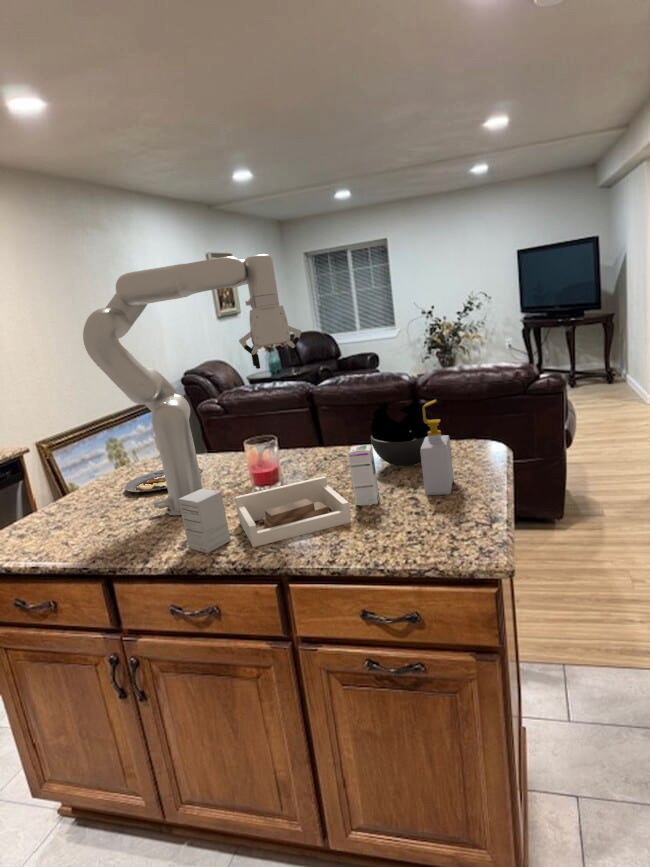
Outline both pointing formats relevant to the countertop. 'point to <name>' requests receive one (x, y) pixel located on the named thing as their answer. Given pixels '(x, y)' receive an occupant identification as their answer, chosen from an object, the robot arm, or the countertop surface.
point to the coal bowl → (399, 435)
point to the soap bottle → (436, 459)
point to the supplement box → (204, 520)
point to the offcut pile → (293, 513)
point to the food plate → (143, 479)
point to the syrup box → (363, 475)
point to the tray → (313, 490)
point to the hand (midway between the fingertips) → (275, 365)
